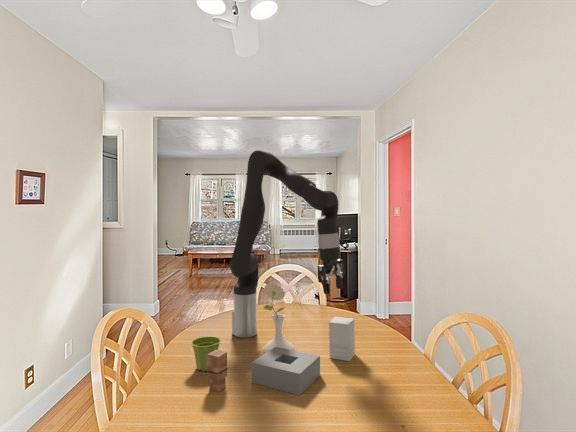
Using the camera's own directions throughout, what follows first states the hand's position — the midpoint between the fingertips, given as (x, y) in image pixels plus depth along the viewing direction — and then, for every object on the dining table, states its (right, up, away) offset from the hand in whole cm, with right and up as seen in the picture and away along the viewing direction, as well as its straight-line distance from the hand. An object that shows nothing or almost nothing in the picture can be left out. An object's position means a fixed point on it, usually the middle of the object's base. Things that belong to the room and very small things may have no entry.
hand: (333, 291), depth 131 cm
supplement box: (+3, -22, -4) cm, 23 cm away
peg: (-37, -23, -26) cm, 50 cm away
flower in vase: (-20, -22, -2) cm, 30 cm away
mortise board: (-17, -22, -21) cm, 35 cm away
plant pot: (-43, -23, -12) cm, 50 cm away
